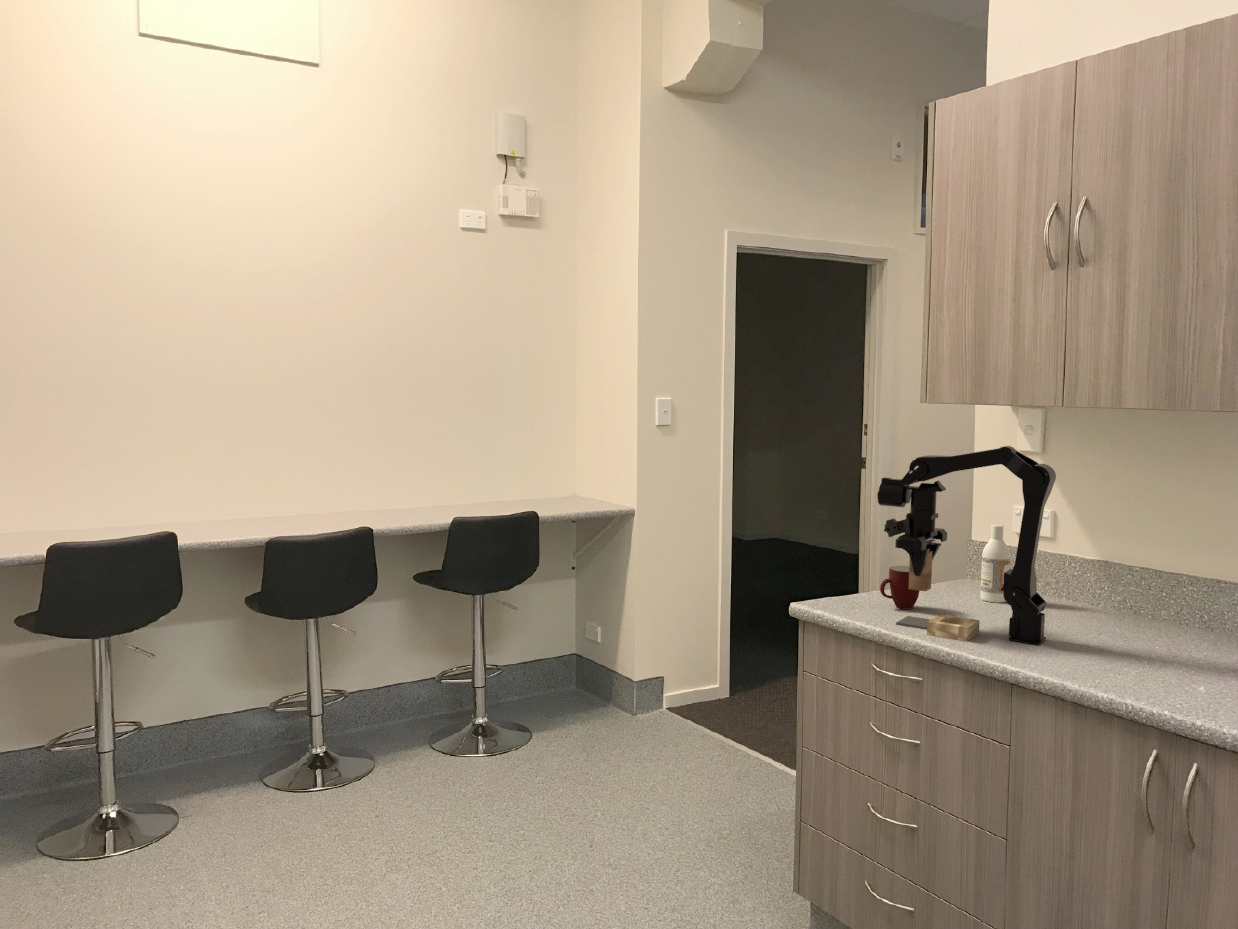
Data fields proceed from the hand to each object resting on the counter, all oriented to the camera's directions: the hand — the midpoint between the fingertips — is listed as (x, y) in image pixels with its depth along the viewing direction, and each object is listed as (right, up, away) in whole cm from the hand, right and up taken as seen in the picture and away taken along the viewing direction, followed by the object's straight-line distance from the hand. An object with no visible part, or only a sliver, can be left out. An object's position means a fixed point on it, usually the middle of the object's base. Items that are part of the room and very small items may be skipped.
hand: (920, 574), depth 233 cm
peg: (0, -4, 0) cm, 4 cm away
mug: (0, -11, +17) cm, 20 cm away
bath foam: (+28, -10, +27) cm, 40 cm away
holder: (+5, -13, -8) cm, 16 cm away
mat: (0, -12, +1) cm, 12 cm away
